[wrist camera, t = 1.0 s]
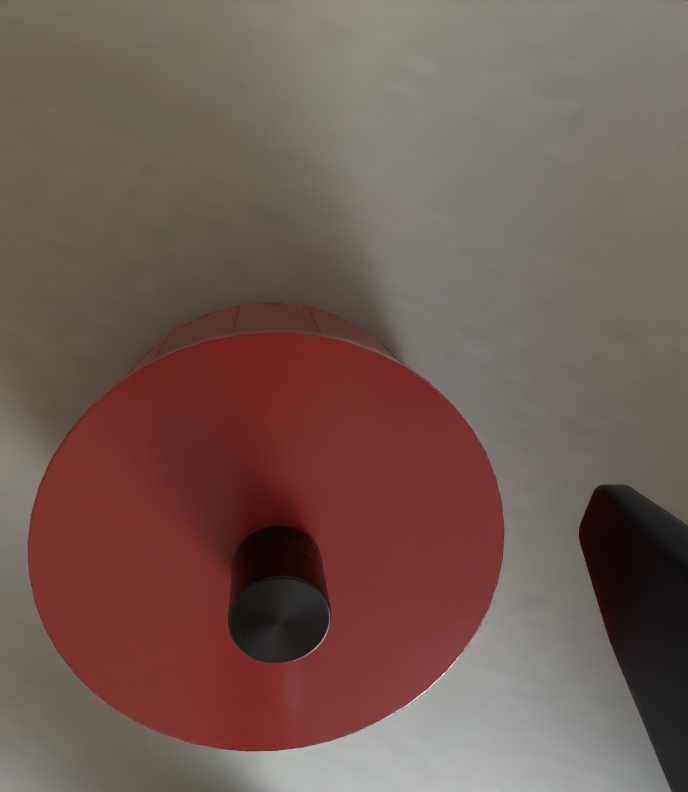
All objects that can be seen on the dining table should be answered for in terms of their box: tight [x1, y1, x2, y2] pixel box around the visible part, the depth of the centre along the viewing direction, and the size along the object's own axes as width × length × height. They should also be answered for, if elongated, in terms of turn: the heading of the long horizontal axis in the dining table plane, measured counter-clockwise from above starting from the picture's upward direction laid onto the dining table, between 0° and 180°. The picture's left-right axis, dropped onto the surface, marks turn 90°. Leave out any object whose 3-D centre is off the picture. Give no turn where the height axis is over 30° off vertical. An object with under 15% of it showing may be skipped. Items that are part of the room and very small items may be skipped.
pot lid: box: [28, 329, 504, 751], centre depth 17 cm, size 13×13×4 cm
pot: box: [126, 303, 396, 376], centre depth 21 cm, size 12×12×6 cm
